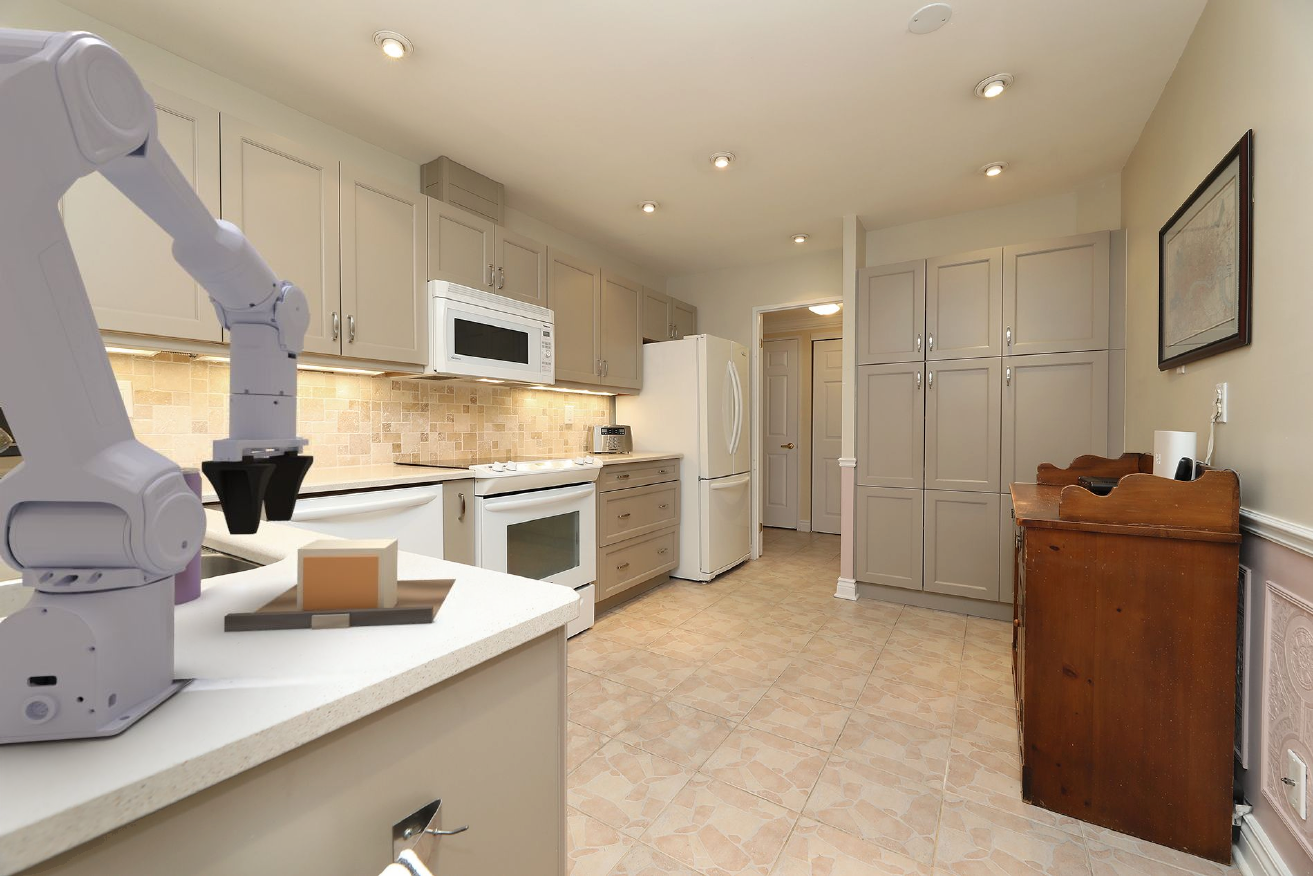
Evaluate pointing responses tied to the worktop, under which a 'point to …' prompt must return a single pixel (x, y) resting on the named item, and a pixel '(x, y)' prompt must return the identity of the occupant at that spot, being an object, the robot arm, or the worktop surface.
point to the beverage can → (191, 577)
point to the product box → (347, 574)
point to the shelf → (346, 610)
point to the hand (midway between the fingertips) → (262, 526)
